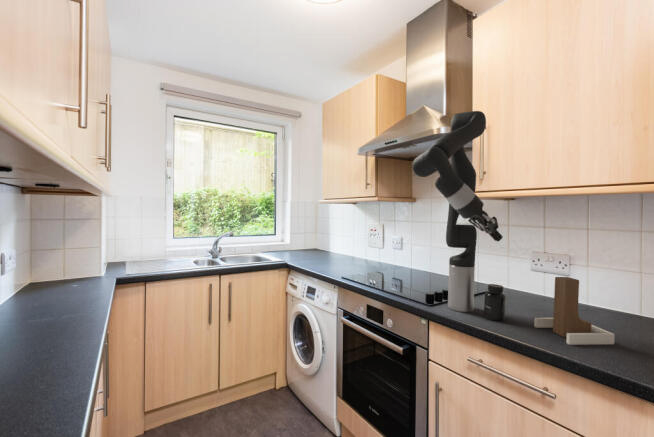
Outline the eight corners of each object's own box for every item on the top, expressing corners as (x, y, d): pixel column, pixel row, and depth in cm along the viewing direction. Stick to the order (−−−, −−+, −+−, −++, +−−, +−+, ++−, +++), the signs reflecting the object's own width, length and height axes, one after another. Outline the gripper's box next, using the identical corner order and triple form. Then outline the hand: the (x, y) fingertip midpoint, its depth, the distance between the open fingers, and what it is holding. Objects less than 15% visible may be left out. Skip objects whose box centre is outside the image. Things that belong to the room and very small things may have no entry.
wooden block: (579, 331, 101) (581, 276, 100) (591, 337, 96) (594, 280, 95) (552, 331, 100) (554, 276, 100) (563, 337, 96) (565, 279, 95)
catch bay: (534, 326, 105) (534, 317, 105) (573, 326, 106) (573, 317, 105) (569, 344, 91) (569, 334, 91) (614, 344, 92) (614, 334, 91)
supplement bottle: (481, 318, 112) (482, 285, 111) (486, 313, 117) (487, 282, 116) (502, 323, 107) (504, 288, 107) (507, 318, 112) (508, 285, 112)
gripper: (484, 191, 91) (522, 233, 93) (461, 192, 104) (494, 229, 106) (466, 209, 91) (504, 250, 93) (445, 208, 104) (479, 244, 106)
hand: (499, 239), depth 99 cm, fingers closed
